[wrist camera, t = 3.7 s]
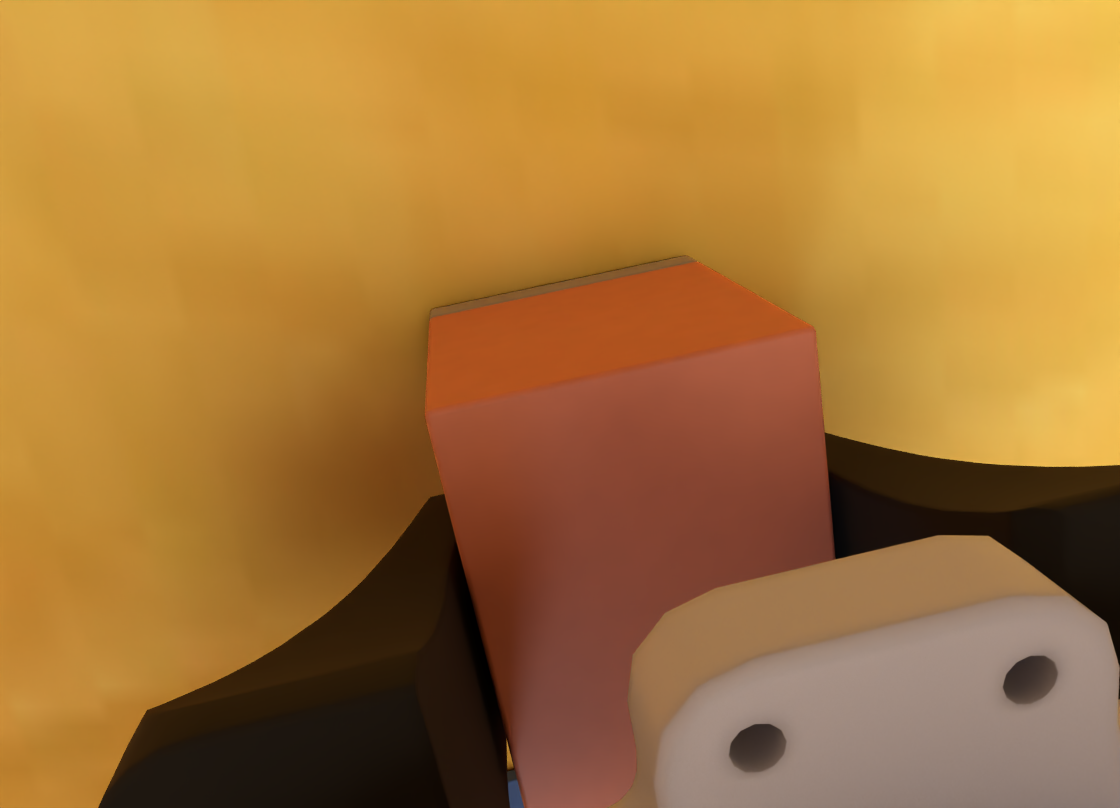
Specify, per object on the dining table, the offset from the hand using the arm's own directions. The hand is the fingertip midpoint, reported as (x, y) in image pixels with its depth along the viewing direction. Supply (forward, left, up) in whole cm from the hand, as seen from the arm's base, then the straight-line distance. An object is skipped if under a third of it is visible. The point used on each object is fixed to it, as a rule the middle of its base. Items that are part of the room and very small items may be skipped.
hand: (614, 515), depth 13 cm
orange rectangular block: (0, 0, -1) cm, 1 cm away
